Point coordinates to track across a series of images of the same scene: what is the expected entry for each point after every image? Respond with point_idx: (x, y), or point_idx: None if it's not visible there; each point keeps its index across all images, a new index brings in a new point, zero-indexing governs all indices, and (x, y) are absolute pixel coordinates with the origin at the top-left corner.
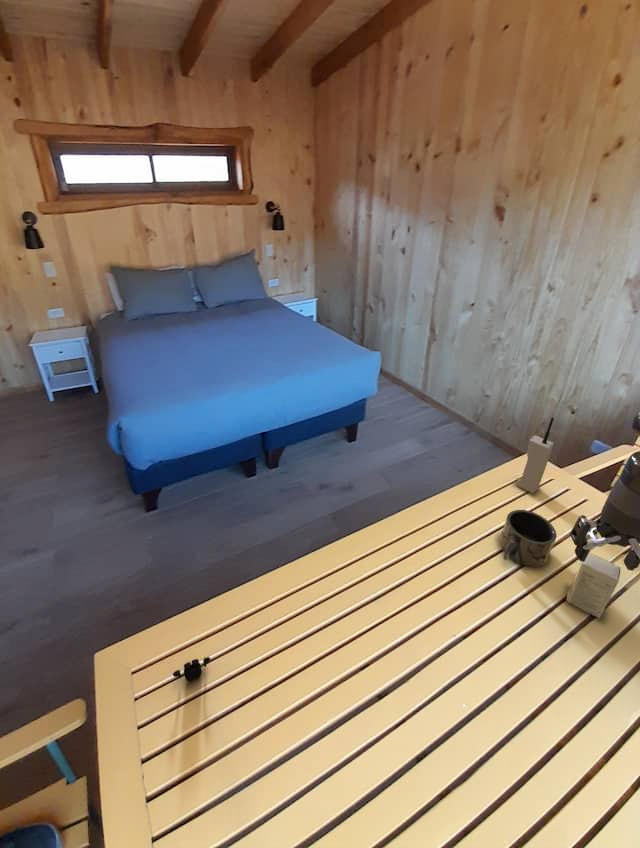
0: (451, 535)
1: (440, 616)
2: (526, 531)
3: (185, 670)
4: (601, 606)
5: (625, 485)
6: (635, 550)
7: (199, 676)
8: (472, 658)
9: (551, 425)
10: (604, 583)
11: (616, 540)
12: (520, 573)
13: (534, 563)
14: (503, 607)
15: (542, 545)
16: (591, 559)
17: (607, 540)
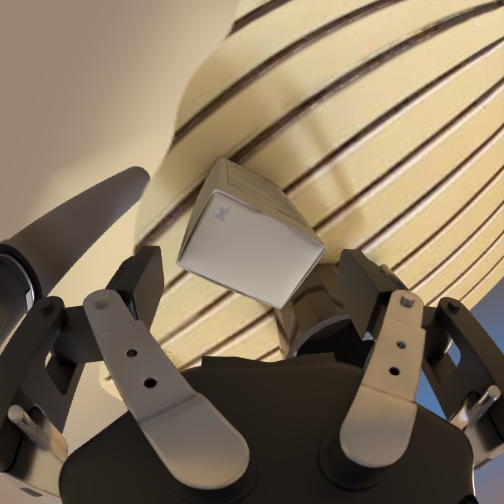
0: (431, 298)
1: (492, 137)
2: (303, 344)
3: None
4: (226, 164)
5: None
6: (146, 339)
7: None
8: (470, 71)
9: None
10: (246, 192)
11: (360, 406)
12: (352, 243)
13: (323, 271)
14: (415, 155)
15: (343, 310)
16: (278, 277)
17: (397, 377)
